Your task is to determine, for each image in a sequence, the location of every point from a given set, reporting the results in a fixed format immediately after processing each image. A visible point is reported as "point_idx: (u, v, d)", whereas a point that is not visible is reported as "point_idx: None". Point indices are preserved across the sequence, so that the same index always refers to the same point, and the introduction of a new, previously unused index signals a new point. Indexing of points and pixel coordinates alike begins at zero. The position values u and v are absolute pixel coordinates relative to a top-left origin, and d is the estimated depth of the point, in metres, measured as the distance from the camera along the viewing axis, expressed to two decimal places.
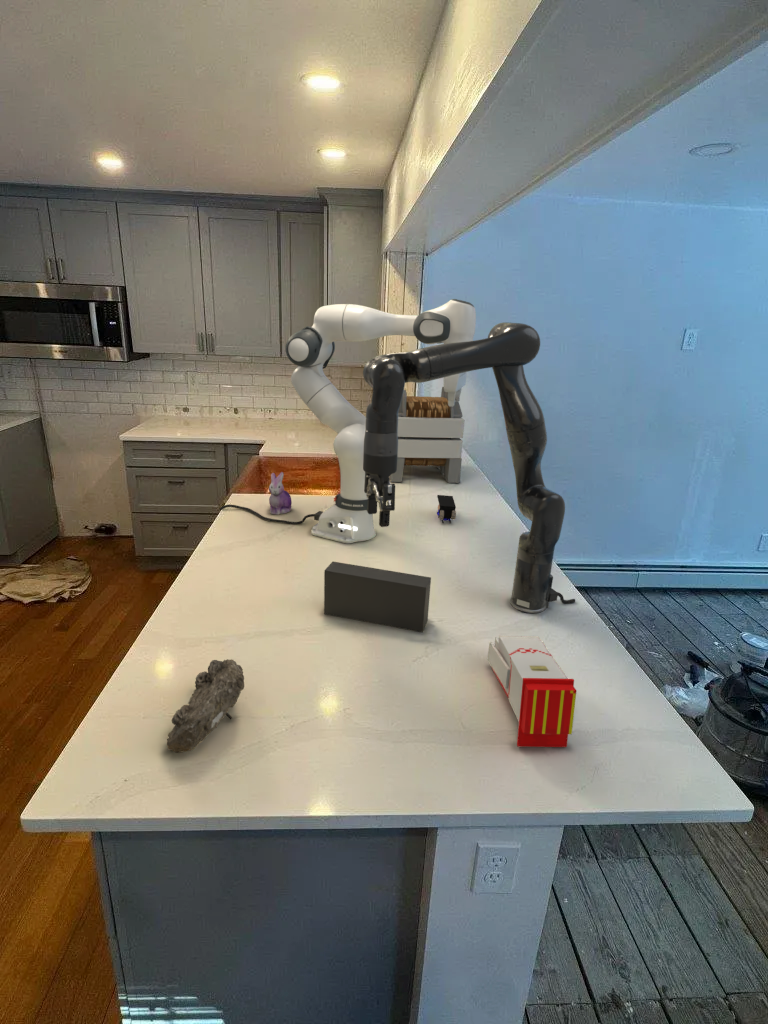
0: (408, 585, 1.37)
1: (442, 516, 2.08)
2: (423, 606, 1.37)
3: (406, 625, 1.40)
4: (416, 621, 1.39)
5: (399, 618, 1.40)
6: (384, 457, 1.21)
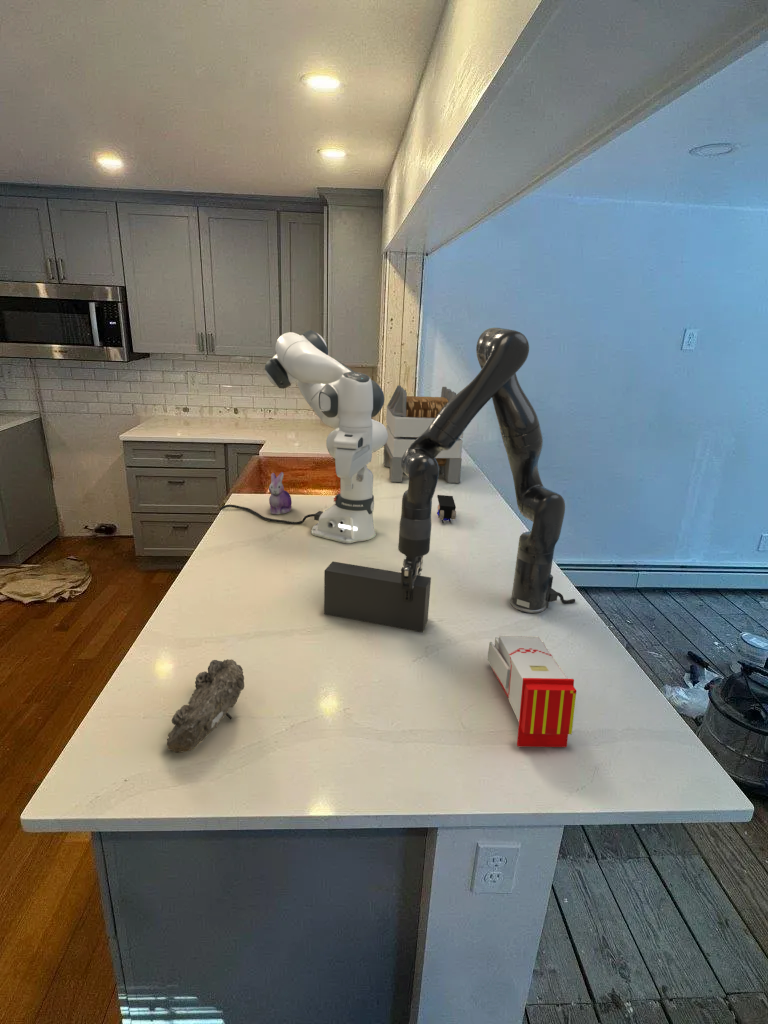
0: None
1: (442, 516, 2.08)
2: (423, 606, 1.37)
3: (406, 625, 1.40)
4: (416, 621, 1.39)
5: (399, 618, 1.40)
6: (409, 540, 1.32)
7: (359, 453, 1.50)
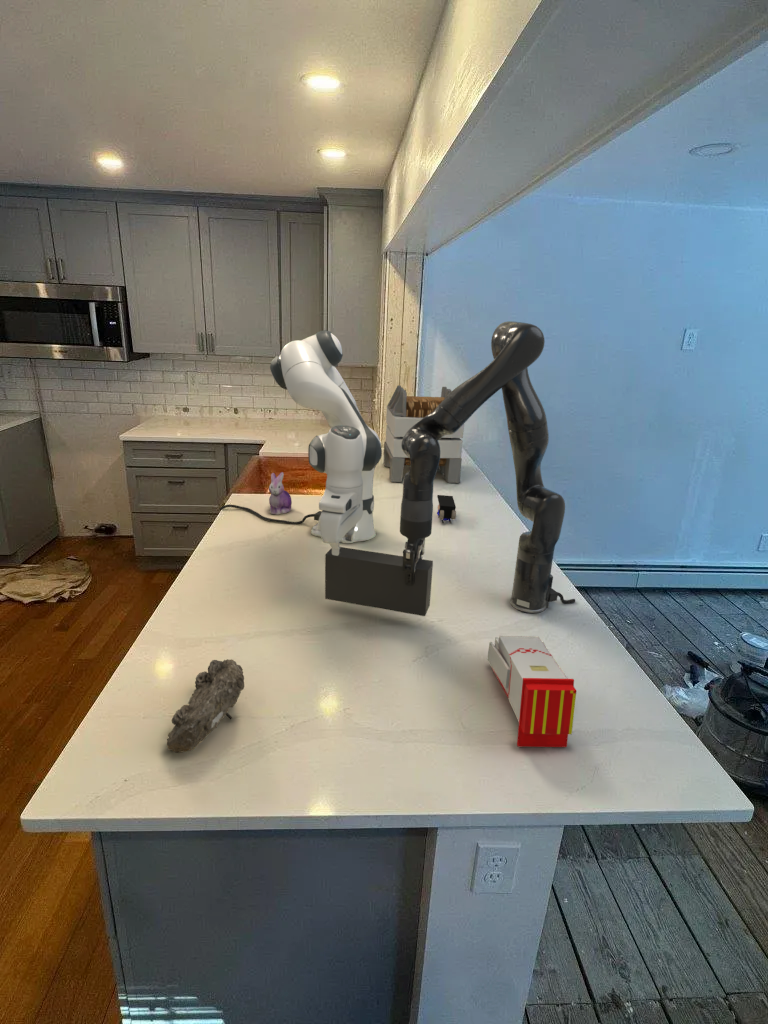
0: None
1: (442, 516, 2.08)
2: (425, 589, 1.36)
3: (408, 609, 1.39)
4: (418, 605, 1.38)
5: (401, 602, 1.39)
6: (411, 522, 1.30)
7: (348, 513, 1.37)
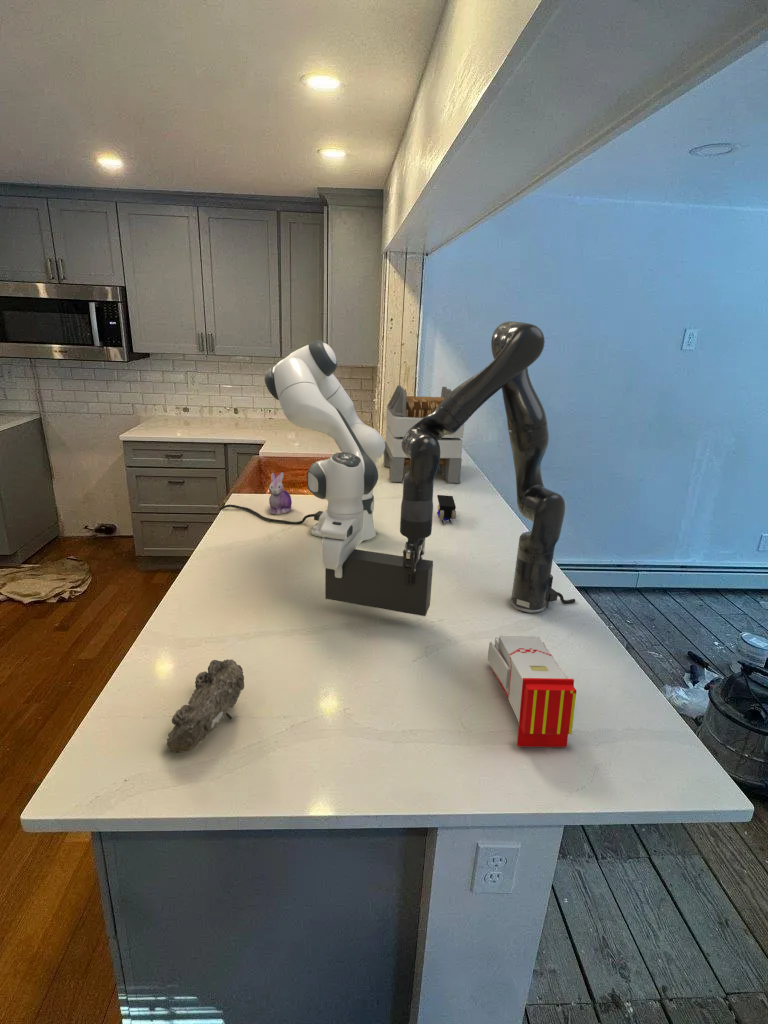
0: None
1: (442, 516, 2.08)
2: (425, 589, 1.36)
3: (408, 609, 1.39)
4: (418, 605, 1.38)
5: (402, 602, 1.39)
6: (411, 522, 1.30)
7: (349, 539, 1.39)
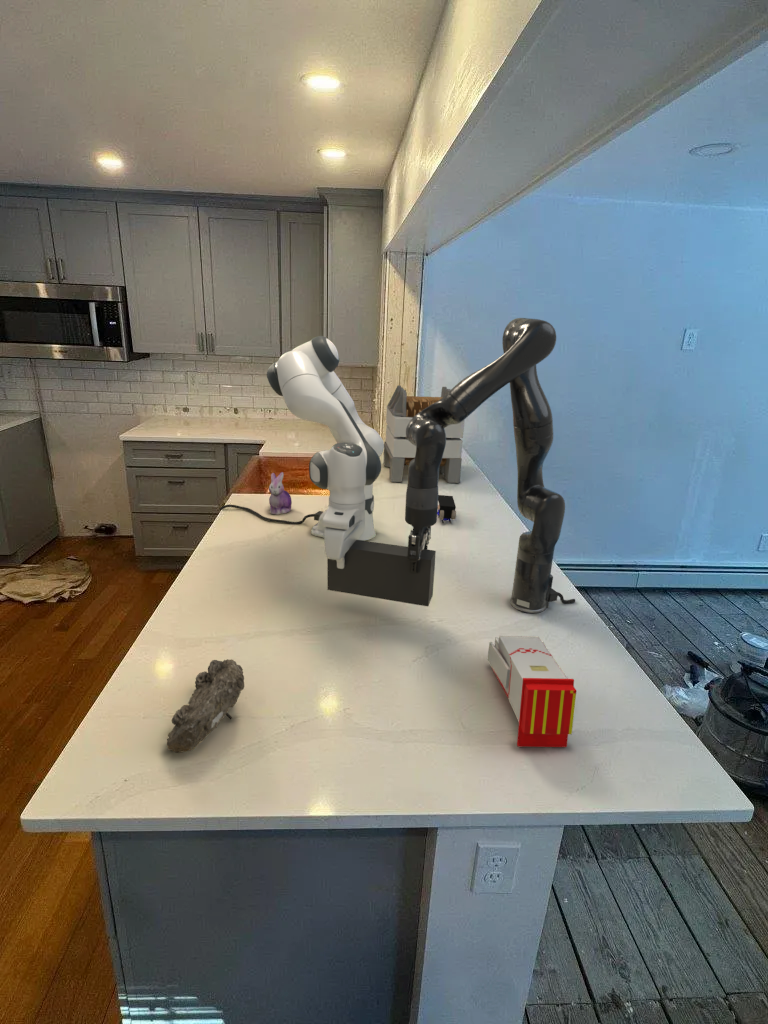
0: None
1: (442, 516, 2.08)
2: (428, 579, 1.35)
3: (411, 600, 1.38)
4: (421, 595, 1.37)
5: (404, 593, 1.38)
6: (416, 510, 1.29)
7: (351, 529, 1.38)
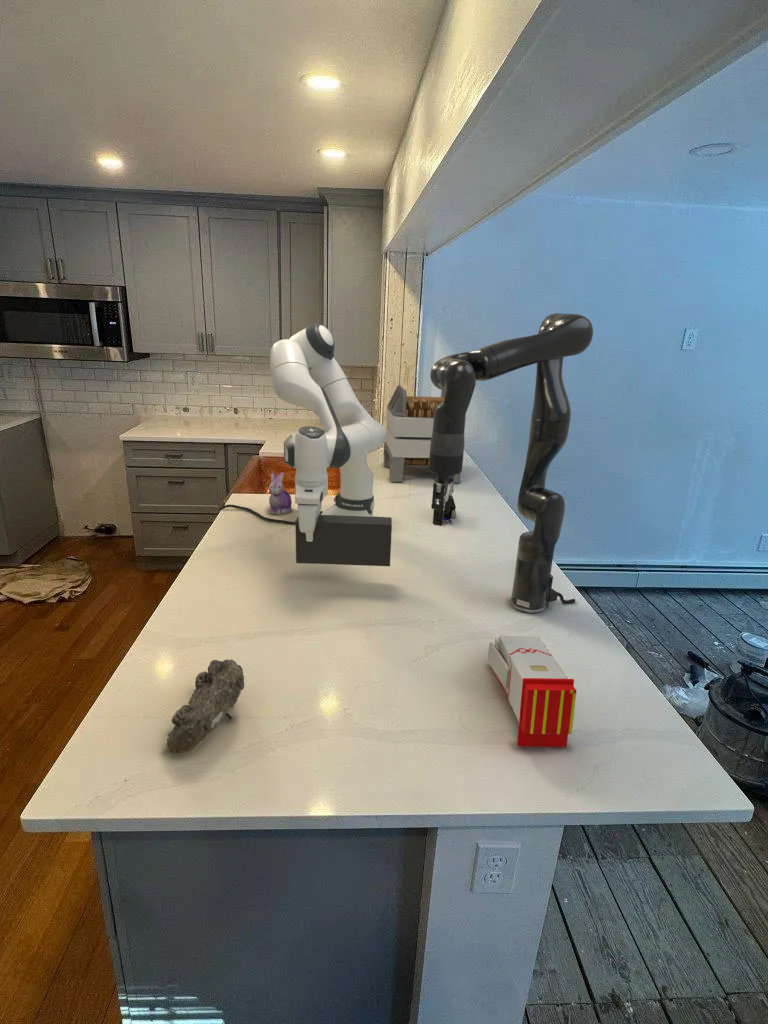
0: (375, 525, 1.53)
1: None
2: (389, 542, 1.55)
3: (375, 562, 1.57)
4: (383, 557, 1.56)
5: (368, 557, 1.56)
6: (441, 456, 1.23)
7: None
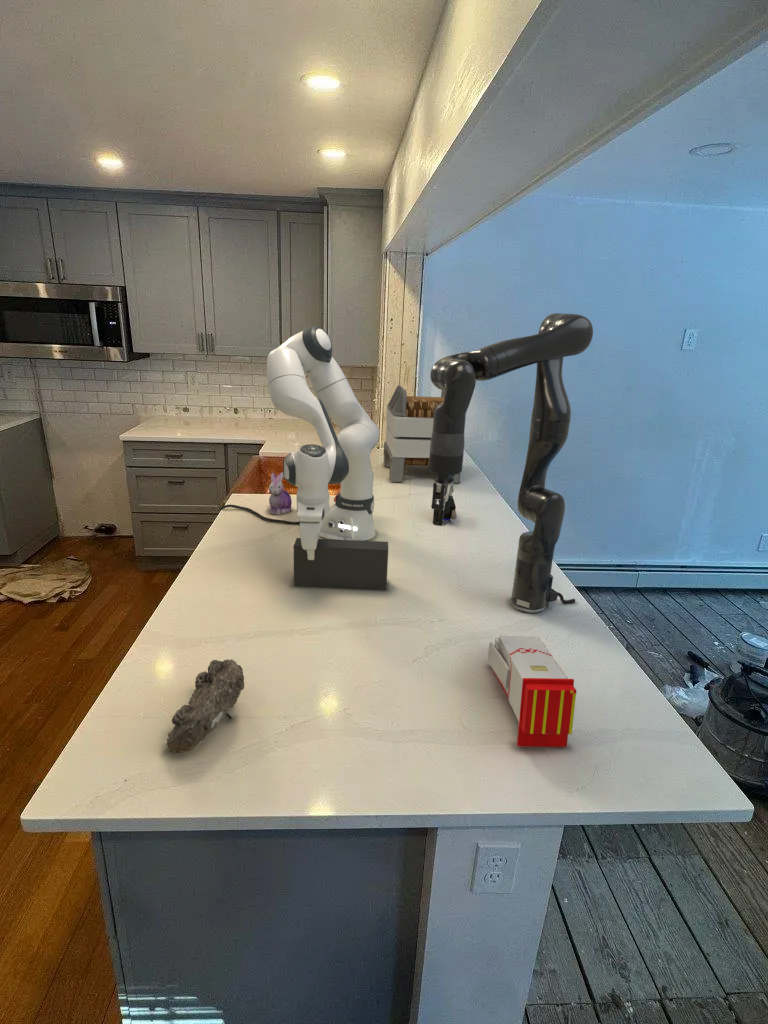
0: (372, 550, 1.56)
1: None
2: (386, 567, 1.57)
3: (371, 586, 1.59)
4: (380, 581, 1.59)
5: (365, 580, 1.59)
6: (441, 456, 1.23)
7: None
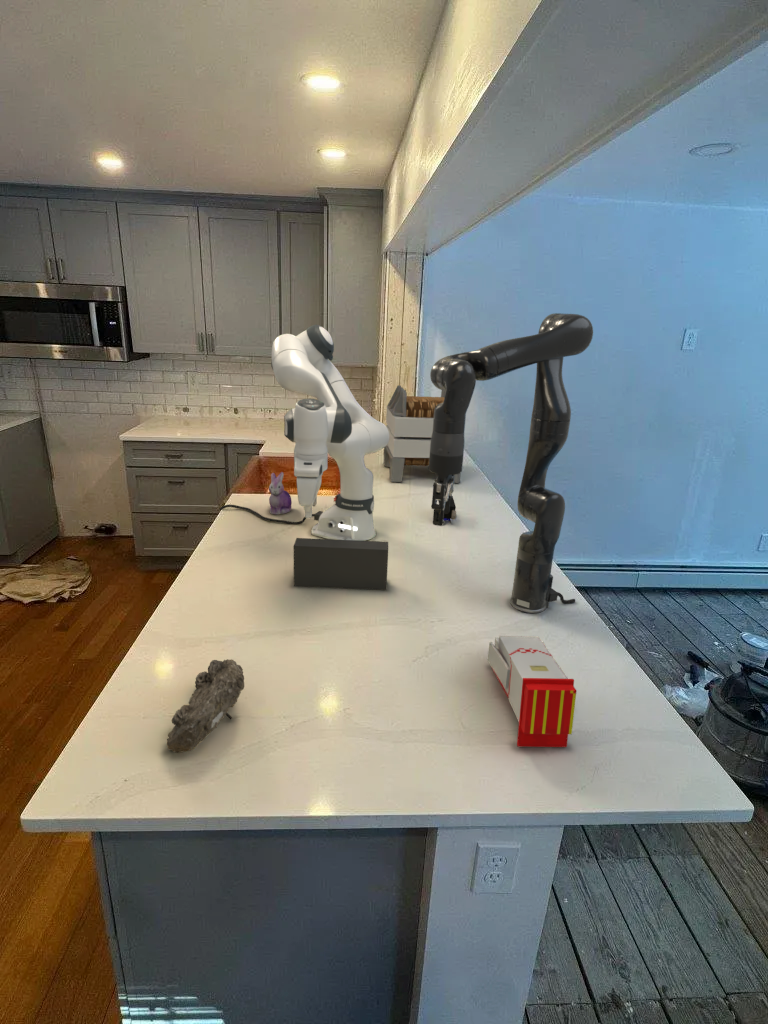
0: (372, 550, 1.56)
1: None
2: (386, 567, 1.57)
3: (371, 586, 1.59)
4: (380, 581, 1.59)
5: (365, 580, 1.59)
6: (441, 456, 1.23)
7: None
